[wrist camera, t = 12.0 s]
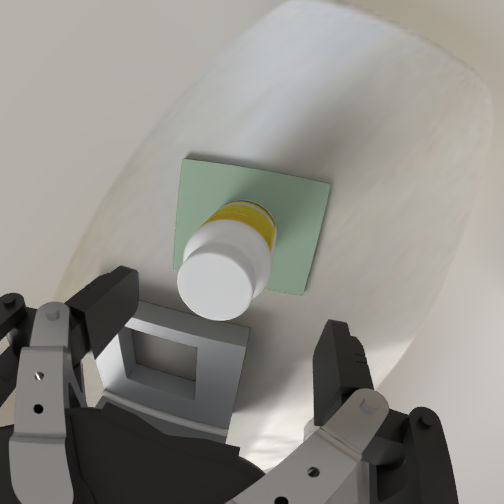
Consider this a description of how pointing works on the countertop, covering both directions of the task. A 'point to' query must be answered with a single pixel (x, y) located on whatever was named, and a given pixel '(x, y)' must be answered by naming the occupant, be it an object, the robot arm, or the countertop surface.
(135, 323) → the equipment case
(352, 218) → the countertop surface
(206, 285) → the supplement bottle
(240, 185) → the mat
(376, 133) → the countertop surface
